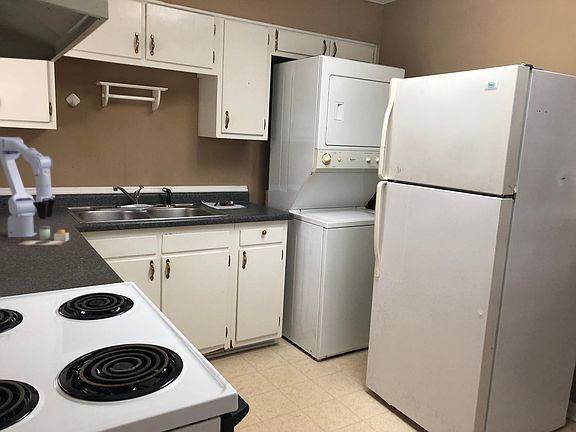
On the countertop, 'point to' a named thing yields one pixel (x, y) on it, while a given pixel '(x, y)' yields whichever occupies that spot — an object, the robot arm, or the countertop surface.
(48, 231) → the ink stamp
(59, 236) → the button box
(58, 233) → the button
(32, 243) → the sketch pad
